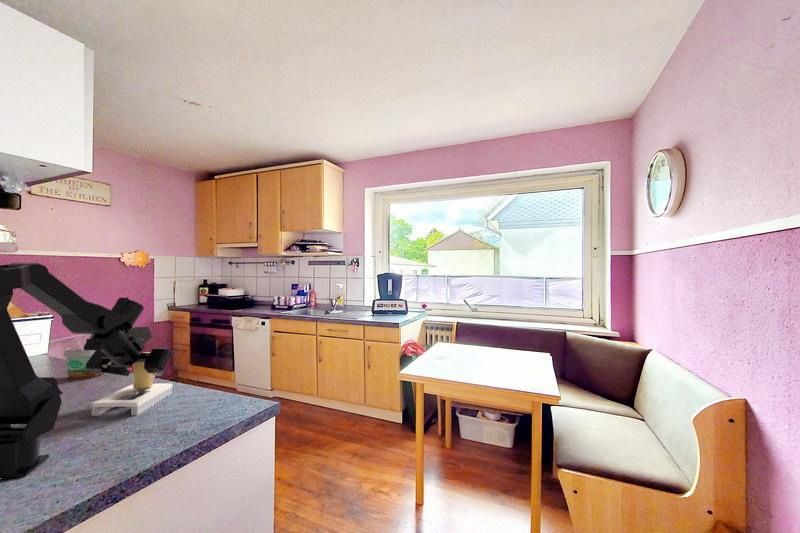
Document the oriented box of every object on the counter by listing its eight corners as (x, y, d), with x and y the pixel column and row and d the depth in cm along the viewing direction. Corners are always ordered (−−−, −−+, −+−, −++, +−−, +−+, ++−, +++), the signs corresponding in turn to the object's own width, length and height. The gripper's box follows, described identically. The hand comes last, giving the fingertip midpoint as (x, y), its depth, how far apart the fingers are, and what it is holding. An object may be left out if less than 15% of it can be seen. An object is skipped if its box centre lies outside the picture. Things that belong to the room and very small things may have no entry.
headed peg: (154, 399, 93) (156, 353, 93) (135, 404, 89) (136, 356, 89) (149, 395, 95) (150, 351, 95) (130, 400, 92) (131, 354, 92)
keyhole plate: (137, 415, 83) (137, 402, 83) (91, 415, 82) (91, 403, 82) (172, 394, 96) (172, 383, 97) (133, 394, 96) (133, 383, 96)
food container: (52, 383, 104) (53, 351, 104) (66, 376, 110) (67, 347, 110) (98, 380, 107) (99, 349, 108) (109, 374, 113) (110, 345, 114)
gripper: (169, 318, 88) (191, 349, 99) (96, 318, 87) (126, 349, 98) (147, 355, 80) (174, 384, 91) (67, 355, 79) (104, 385, 90)
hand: (145, 374), depth 93 cm, fingers open, 9 cm apart
